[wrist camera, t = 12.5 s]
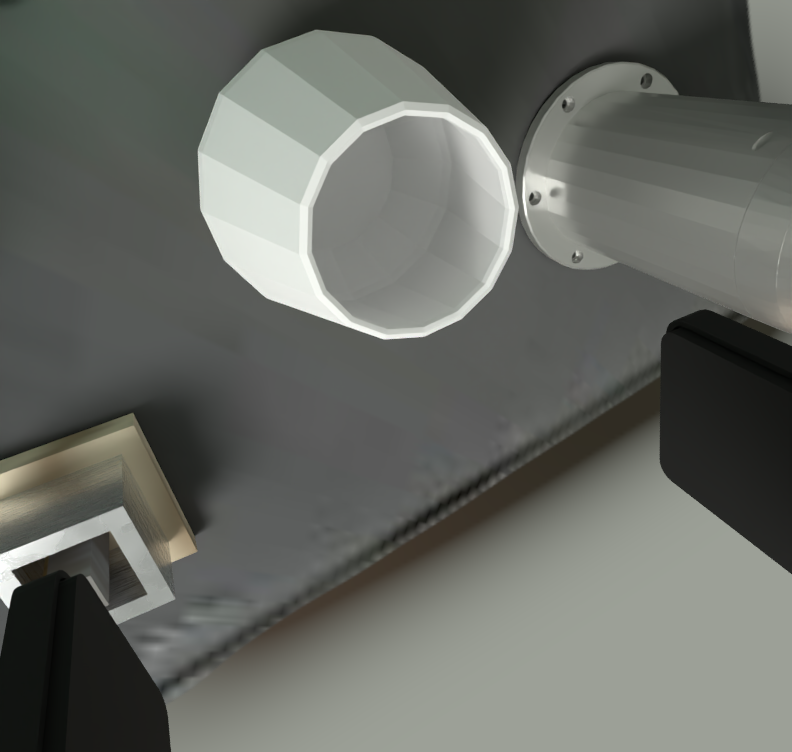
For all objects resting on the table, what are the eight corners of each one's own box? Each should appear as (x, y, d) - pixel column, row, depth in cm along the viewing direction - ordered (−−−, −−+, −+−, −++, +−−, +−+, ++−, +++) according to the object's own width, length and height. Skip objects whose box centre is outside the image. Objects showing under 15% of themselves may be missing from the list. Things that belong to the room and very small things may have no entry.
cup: (457, 75, 36) (621, 89, 24) (394, 303, 41) (507, 406, 29) (210, -10, 30) (272, -45, 19) (169, 268, 35) (198, 379, 23)
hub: (121, 453, 37) (122, 506, 32) (168, 541, 40) (175, 599, 36) (-9, 503, 35) (-25, 564, 31) (52, 590, 39) (45, 655, 34)
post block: (133, 412, 37) (137, 485, 31) (194, 536, 42) (209, 621, 36) (-53, 479, 35) (-88, 573, 29) (36, 602, 40) (22, 704, 34)
